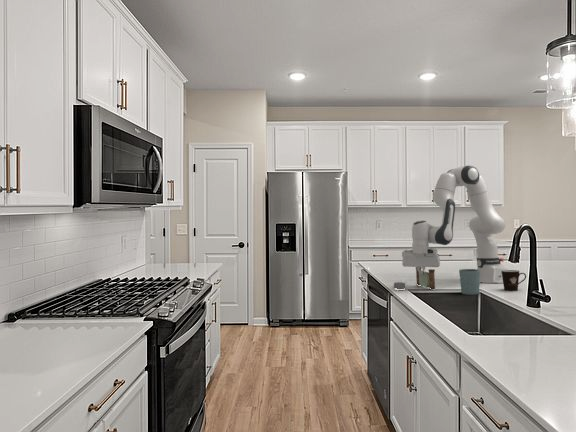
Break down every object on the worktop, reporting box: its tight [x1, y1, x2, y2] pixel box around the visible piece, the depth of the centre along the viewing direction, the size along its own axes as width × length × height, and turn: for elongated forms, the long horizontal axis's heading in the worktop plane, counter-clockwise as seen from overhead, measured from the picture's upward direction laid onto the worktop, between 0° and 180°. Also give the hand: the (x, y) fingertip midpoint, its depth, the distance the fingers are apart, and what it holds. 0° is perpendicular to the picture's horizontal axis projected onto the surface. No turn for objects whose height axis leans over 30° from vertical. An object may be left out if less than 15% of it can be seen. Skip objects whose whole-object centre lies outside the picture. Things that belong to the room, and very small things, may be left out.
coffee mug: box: [501, 269, 527, 292], centre depth 251 cm, size 12×9×10 cm
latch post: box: [428, 268, 436, 290], centre depth 263 cm, size 4×5×11 cm
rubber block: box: [393, 281, 406, 289], centre depth 264 cm, size 4×4×4 cm
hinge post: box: [415, 267, 423, 285], centre depth 276 cm, size 3×3×11 cm
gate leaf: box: [419, 270, 430, 288], centre depth 269 cm, size 2×10×8 cm, turn 8°
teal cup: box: [458, 268, 481, 296], centre depth 246 cm, size 10×10×12 cm
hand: (421, 275), depth 267 cm, fingers closed
